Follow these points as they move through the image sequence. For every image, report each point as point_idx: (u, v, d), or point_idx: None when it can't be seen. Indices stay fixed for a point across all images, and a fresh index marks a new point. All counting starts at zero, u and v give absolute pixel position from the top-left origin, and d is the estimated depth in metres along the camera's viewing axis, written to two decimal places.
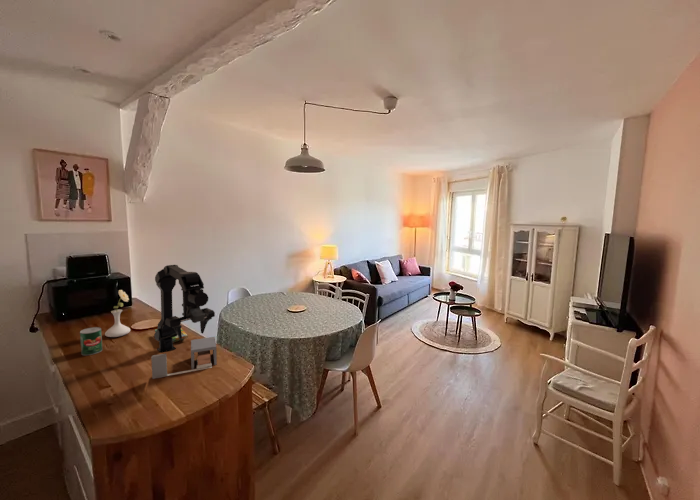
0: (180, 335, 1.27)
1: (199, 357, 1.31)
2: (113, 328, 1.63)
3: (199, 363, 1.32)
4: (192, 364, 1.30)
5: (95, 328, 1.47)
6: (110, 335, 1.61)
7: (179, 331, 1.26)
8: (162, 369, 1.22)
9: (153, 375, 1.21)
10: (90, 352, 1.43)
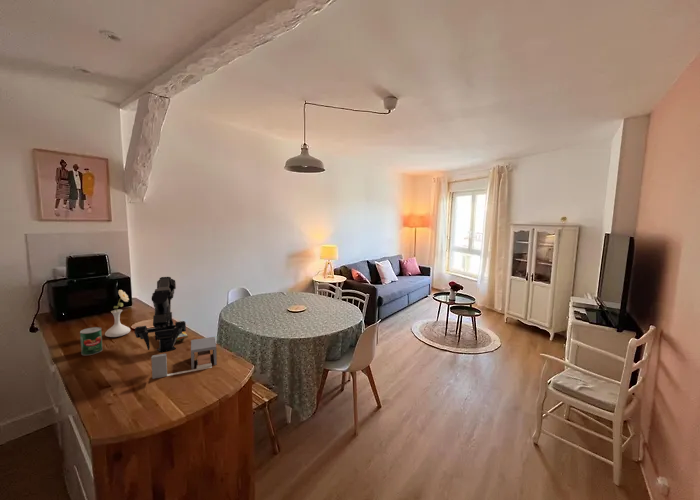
0: (147, 344, 1.25)
1: (199, 357, 1.31)
2: (113, 328, 1.63)
3: (199, 363, 1.32)
4: (192, 364, 1.30)
5: (95, 328, 1.47)
6: (110, 335, 1.61)
7: (146, 339, 1.26)
8: (162, 369, 1.22)
9: (153, 375, 1.21)
10: (90, 352, 1.43)
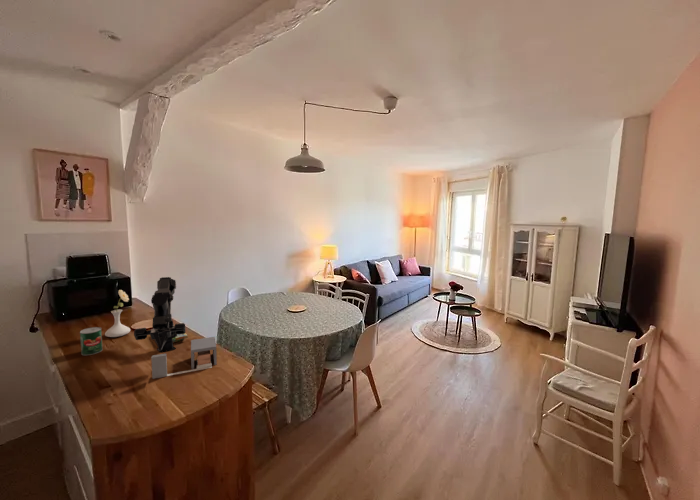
0: (158, 344, 1.26)
1: (199, 357, 1.31)
2: (113, 328, 1.63)
3: (199, 363, 1.32)
4: (192, 364, 1.30)
5: (95, 328, 1.47)
6: (110, 335, 1.61)
7: (157, 339, 1.27)
8: (162, 369, 1.22)
9: (153, 375, 1.21)
10: (90, 352, 1.43)
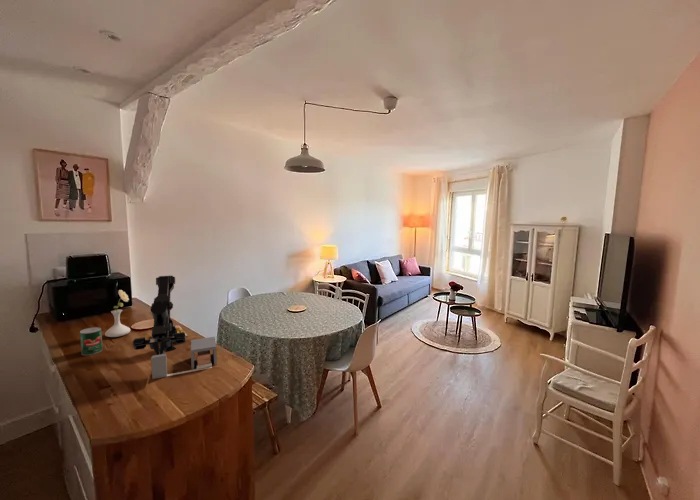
0: (157, 354, 1.24)
1: (199, 357, 1.31)
2: (113, 328, 1.63)
3: (199, 363, 1.32)
4: (192, 364, 1.30)
5: (95, 328, 1.47)
6: (110, 335, 1.61)
7: (156, 349, 1.24)
8: (162, 369, 1.22)
9: (153, 375, 1.21)
10: (90, 352, 1.43)
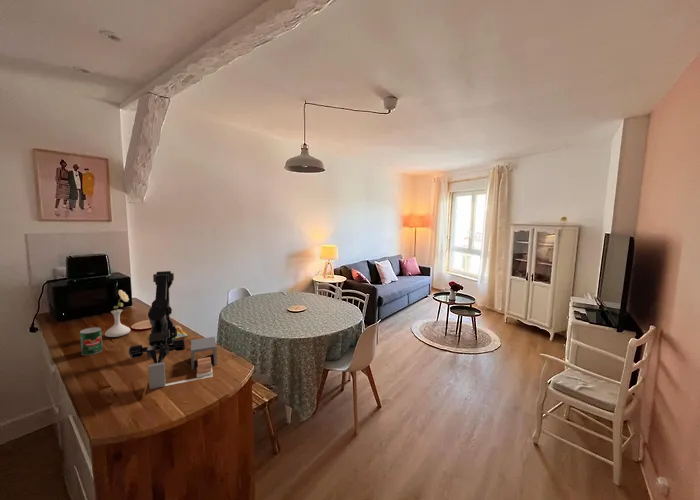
0: (155, 363, 1.17)
1: (199, 365, 1.24)
2: (113, 328, 1.63)
3: (199, 372, 1.24)
4: (192, 364, 1.30)
5: (95, 328, 1.47)
6: (110, 335, 1.61)
7: (154, 358, 1.17)
8: (160, 379, 1.15)
9: (150, 385, 1.14)
10: (90, 352, 1.43)
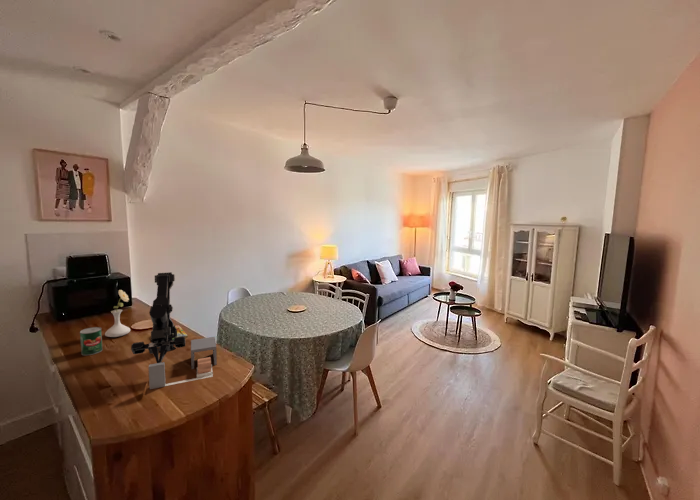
0: (157, 359, 1.21)
1: (199, 365, 1.24)
2: (113, 328, 1.63)
3: (199, 372, 1.24)
4: (192, 364, 1.30)
5: (95, 328, 1.47)
6: (110, 335, 1.61)
7: (155, 354, 1.21)
8: (160, 379, 1.15)
9: (150, 385, 1.14)
10: (90, 352, 1.43)
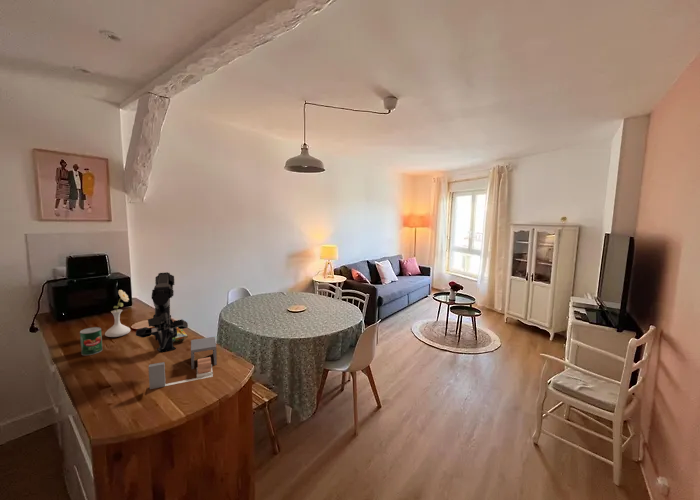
0: (160, 343, 1.27)
1: (199, 365, 1.24)
2: (113, 328, 1.63)
3: (199, 372, 1.24)
4: (192, 364, 1.30)
5: (95, 328, 1.47)
6: (110, 335, 1.61)
7: (158, 338, 1.27)
8: (160, 379, 1.15)
9: (150, 385, 1.14)
10: (90, 352, 1.43)
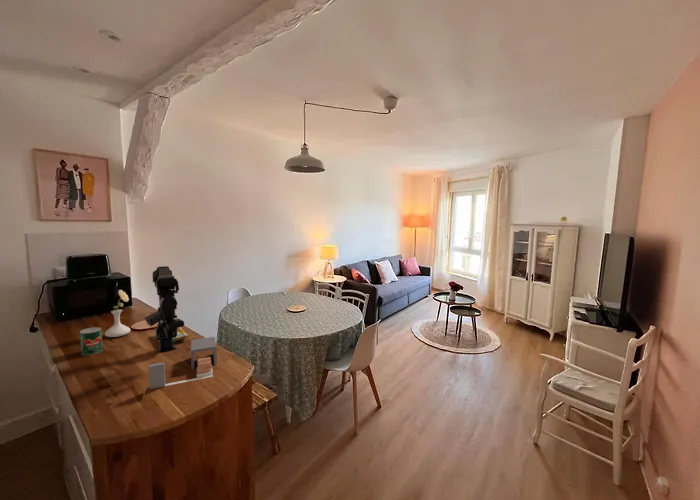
0: (166, 334, 1.34)
1: (199, 365, 1.24)
2: (113, 328, 1.63)
3: (199, 372, 1.24)
4: (192, 364, 1.30)
5: (95, 328, 1.47)
6: (110, 335, 1.61)
7: (164, 330, 1.34)
8: (160, 379, 1.15)
9: (150, 385, 1.14)
10: (90, 352, 1.43)
